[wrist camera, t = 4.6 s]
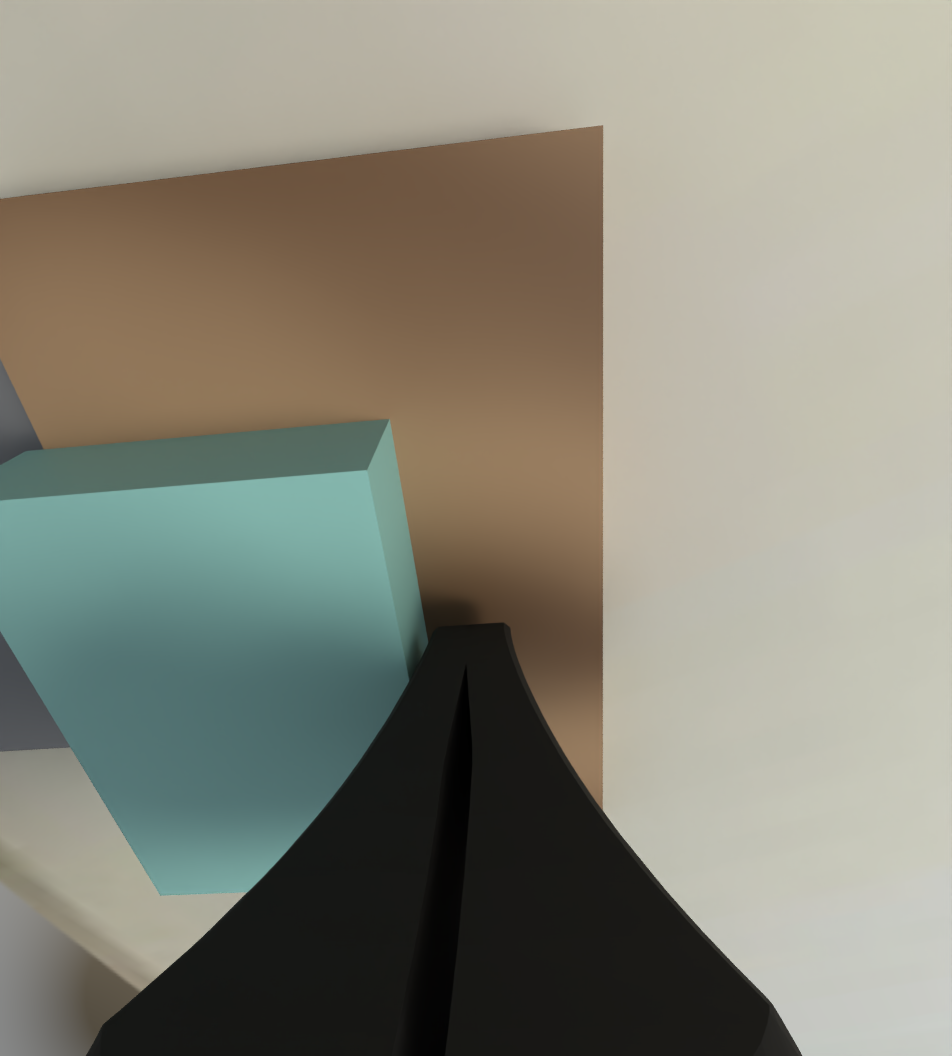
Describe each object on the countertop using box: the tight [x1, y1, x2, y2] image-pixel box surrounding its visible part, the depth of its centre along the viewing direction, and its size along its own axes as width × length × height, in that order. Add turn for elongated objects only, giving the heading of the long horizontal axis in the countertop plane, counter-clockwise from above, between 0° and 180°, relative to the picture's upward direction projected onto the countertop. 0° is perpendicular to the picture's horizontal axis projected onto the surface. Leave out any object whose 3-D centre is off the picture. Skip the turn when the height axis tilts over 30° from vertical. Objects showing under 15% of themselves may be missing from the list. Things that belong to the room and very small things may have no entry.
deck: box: [0, 125, 603, 810], centre depth 12 cm, size 16×9×2 cm, turn 6°
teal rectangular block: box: [0, 419, 428, 896], centre depth 11 cm, size 9×6×2 cm, turn 5°
